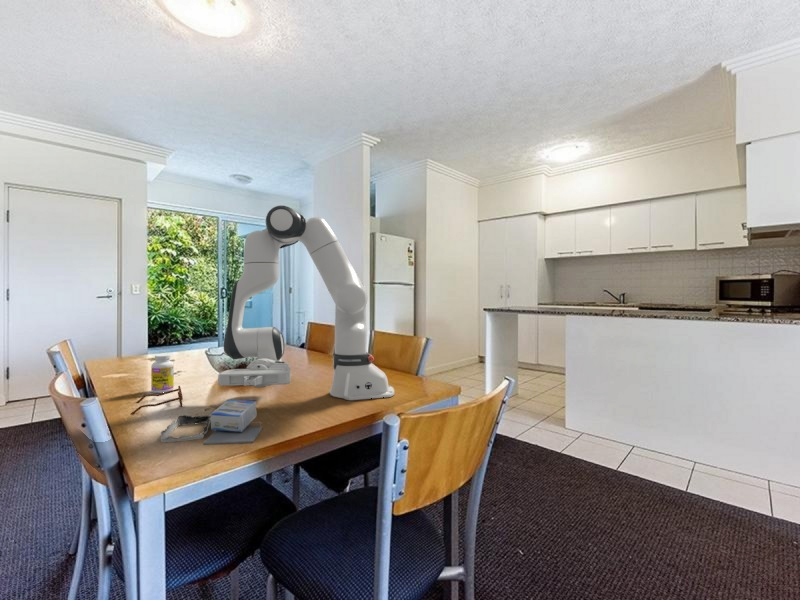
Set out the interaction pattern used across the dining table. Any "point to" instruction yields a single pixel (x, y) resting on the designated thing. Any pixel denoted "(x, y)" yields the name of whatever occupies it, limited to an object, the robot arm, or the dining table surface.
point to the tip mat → (236, 435)
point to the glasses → (161, 402)
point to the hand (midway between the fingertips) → (249, 383)
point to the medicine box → (233, 415)
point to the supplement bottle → (162, 374)
